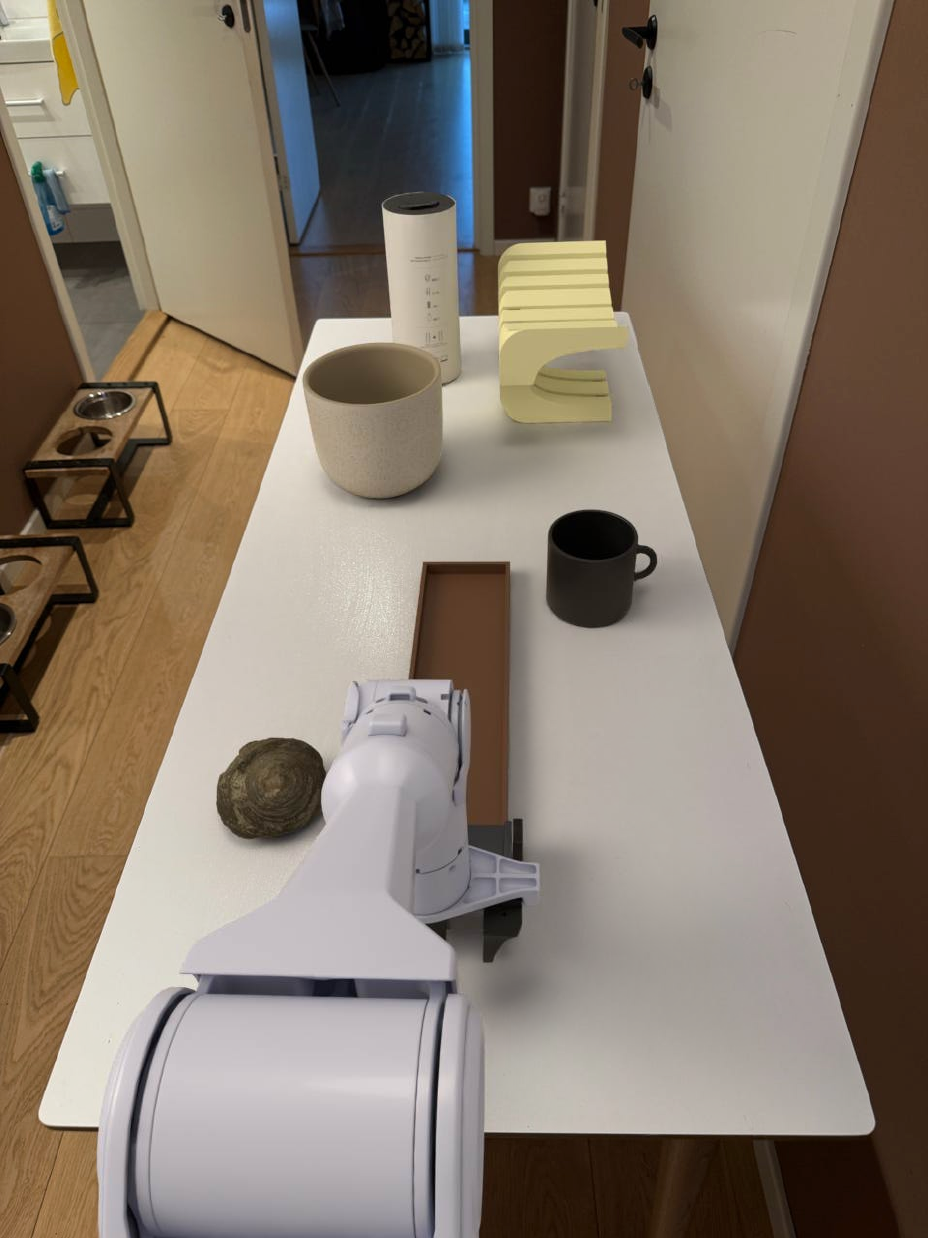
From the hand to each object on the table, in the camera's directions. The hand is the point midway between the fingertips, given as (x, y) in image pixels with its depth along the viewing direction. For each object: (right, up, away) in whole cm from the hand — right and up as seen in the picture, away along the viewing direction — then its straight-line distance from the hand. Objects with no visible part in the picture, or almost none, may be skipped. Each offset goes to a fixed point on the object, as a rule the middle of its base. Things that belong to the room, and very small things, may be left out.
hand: (433, 948), depth 65 cm
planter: (-9, +42, +58) cm, 72 cm away
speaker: (-3, +62, +81) cm, 101 cm away
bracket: (+1, +3, +14) cm, 14 cm away
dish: (0, +1, +7) cm, 7 cm away
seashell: (-15, +7, +20) cm, 26 cm away
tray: (+2, +15, +28) cm, 32 cm away
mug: (+17, +25, +38) cm, 49 cm away
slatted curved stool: (+15, +55, +73) cm, 93 cm away
